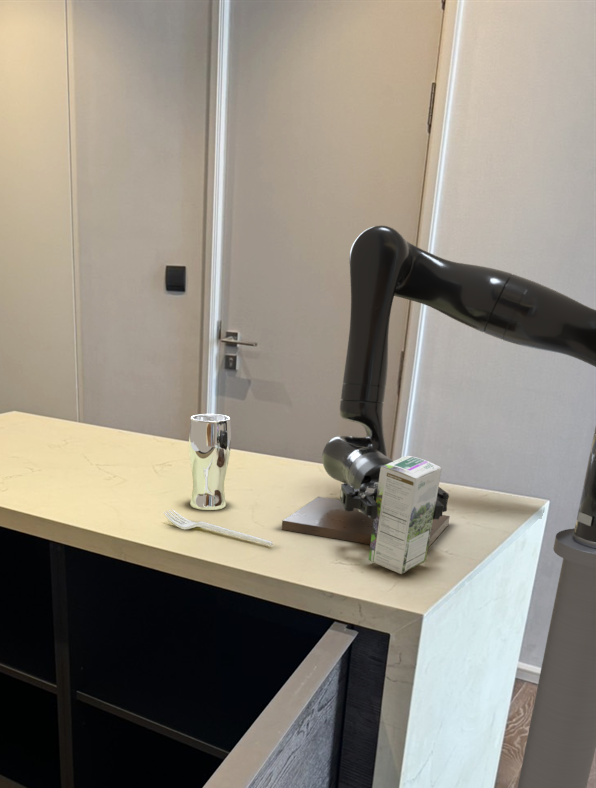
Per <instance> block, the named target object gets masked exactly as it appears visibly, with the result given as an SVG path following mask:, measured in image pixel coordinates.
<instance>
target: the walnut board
mask: <svg viewBox="0 0 596 788" xmlns="http://www.w3.org/2000/svg"><path fill="white" fill-rule="evenodd" d="M450 518H451V516H450V515H445V514H442V516H440V518H439V519H433V522H432V528H431V534H430V540H429V546H428V548H429V547H430V546H431V545H432V544H433V543H434V542H435V541H436V539H438V537H439V536H440V535H441V534H442V533H443V532H444V531H445V529H446V528H447V527H448V526H449V525H450V524H449V523H450ZM373 521H374V519H370V518H369V517H368V516H366V515H364V514H363V513H361V512H359V509H357V508H354V510H353V511H346V510H345V509H344V507H343V505H342V504H341V502H340V499H337V498H330V497H325V496H317V497H315V498H314V499H312V500H311V501H310V502H308V503H307V504H305V505H303V506H301V507H300V508H298V510H296V511H294V512H293V513H292V514H290V515H288V516H287V517H286V518H284V519H282V521H281V530H282V531H289V532H294V533H300V534H305V535H311V536H318V537H323V538H329V539H335V540H341V541H348V542H351V543H359V544H366V545H370V544H371V536H372V529H373Z"/></svg>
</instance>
